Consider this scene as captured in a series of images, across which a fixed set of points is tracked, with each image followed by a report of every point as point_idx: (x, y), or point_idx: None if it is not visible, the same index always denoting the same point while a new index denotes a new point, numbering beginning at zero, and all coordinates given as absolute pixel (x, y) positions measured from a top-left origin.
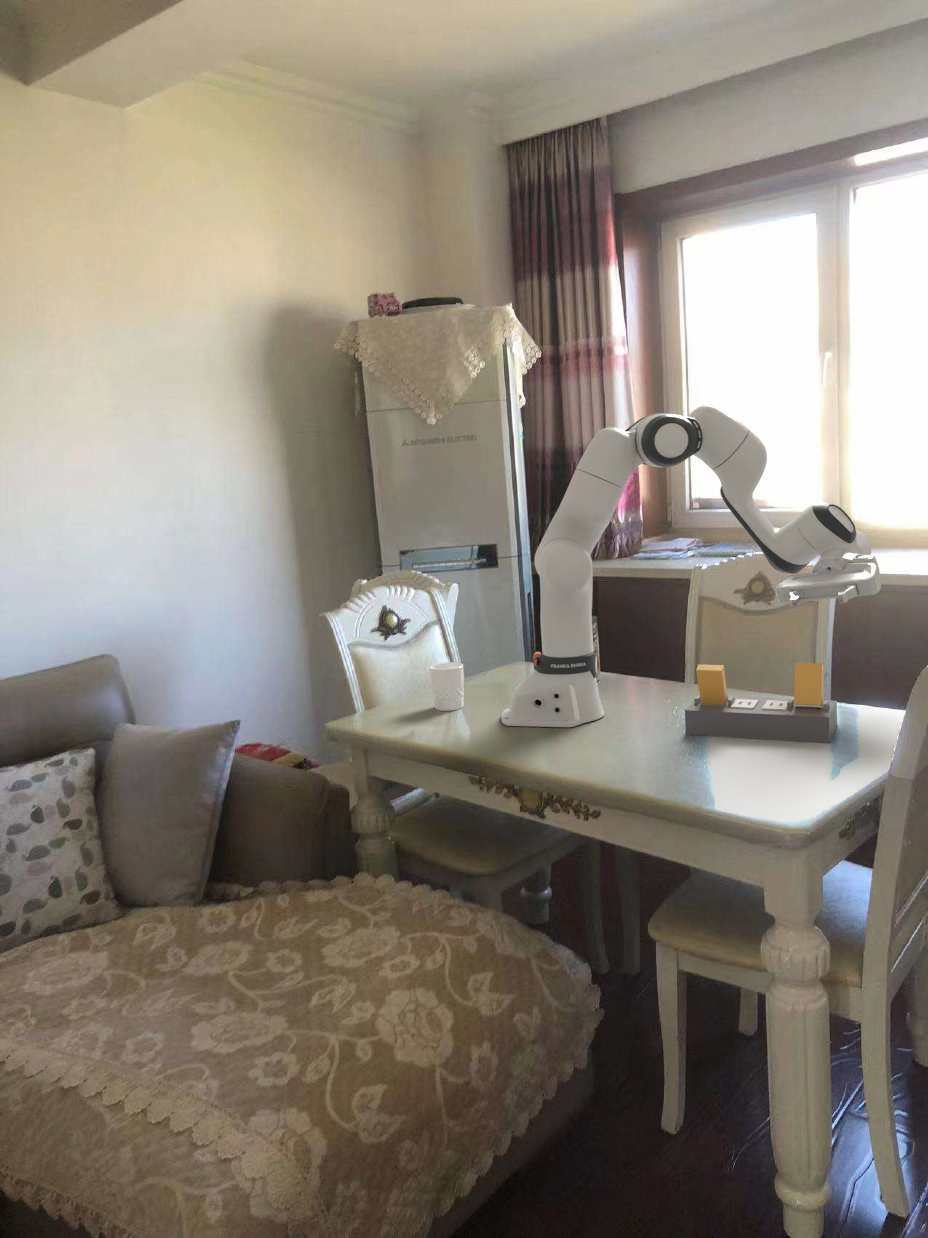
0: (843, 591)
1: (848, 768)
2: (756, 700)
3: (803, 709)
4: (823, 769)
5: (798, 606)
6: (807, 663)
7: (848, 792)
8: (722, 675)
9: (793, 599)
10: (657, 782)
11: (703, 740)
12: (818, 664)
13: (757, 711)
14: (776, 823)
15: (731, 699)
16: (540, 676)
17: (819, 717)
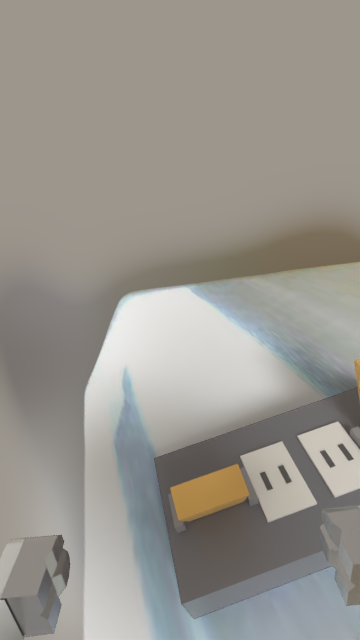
0: (3, 598)
1: (116, 402)
2: (334, 487)
3: None
4: (140, 386)
5: (322, 547)
6: (207, 474)
7: (104, 352)
8: (356, 373)
9: (346, 508)
10: (260, 293)
11: None
12: (180, 485)
13: (279, 428)
14: (139, 293)
15: (354, 432)
16: None
17: (170, 453)
